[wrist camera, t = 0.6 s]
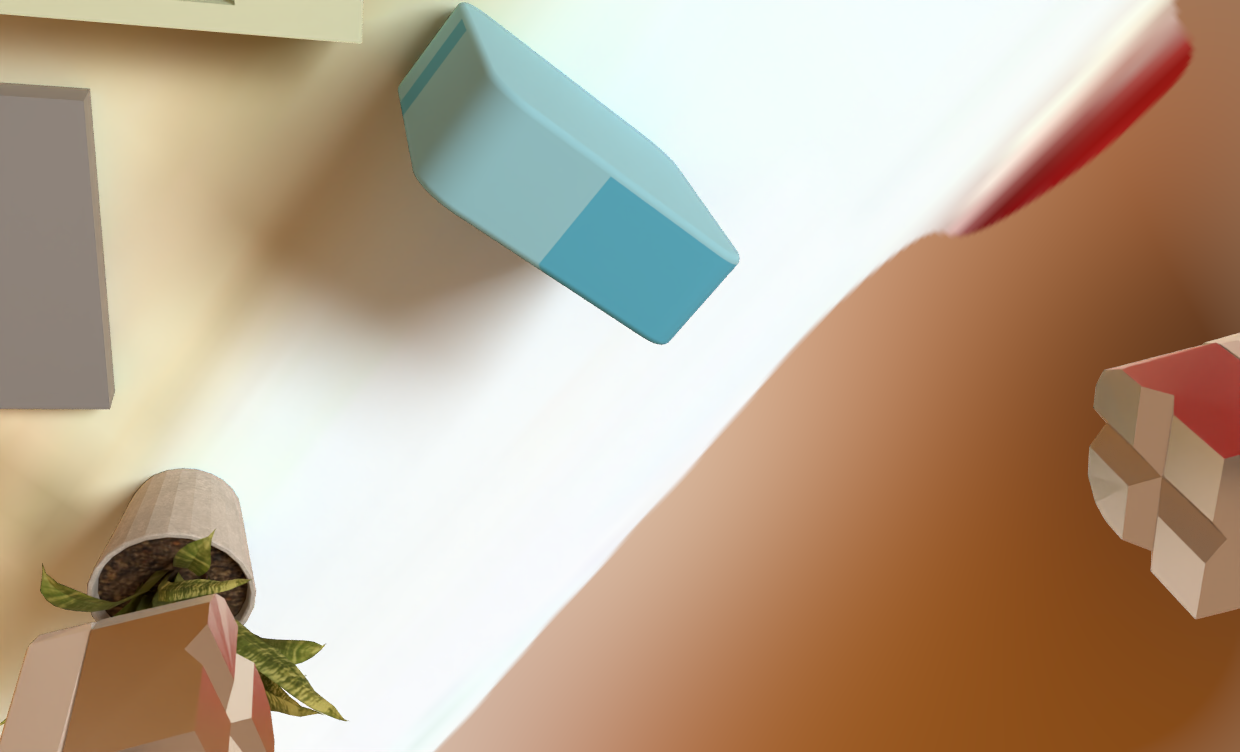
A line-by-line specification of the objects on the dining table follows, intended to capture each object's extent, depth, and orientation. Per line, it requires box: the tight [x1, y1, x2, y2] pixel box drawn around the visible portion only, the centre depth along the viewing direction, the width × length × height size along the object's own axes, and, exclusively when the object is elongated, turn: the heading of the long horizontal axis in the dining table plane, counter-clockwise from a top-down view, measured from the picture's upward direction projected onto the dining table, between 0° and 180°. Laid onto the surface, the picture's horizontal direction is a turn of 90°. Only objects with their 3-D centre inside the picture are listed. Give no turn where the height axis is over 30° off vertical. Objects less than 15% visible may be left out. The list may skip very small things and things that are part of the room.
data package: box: [398, 3, 739, 345], centre depth 46 cm, size 12×4×12 cm, turn 50°
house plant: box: [0, 468, 347, 725], centre depth 51 cm, size 14×14×16 cm
